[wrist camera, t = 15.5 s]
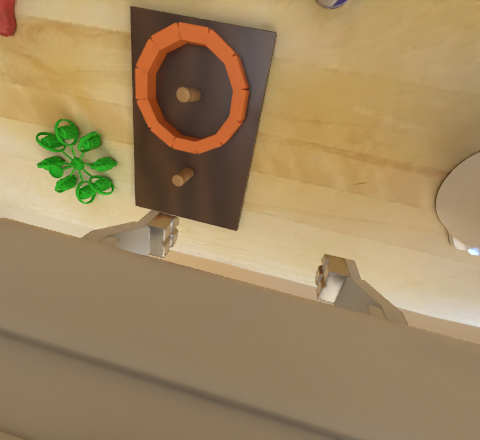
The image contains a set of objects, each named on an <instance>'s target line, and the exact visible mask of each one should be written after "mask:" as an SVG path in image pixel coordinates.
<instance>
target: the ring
mask: <svg viewBox="0 0 480 440" xmlns="http://www.w3.org/2000/svg"><path fill="white" fill-rule="evenodd" d="M151 38H152V39H150V38H149V39H148V41H147V43H146V45H145V47H144V49H143V52H142V54H141V56H140V58H139V60H138V62H137V64H136V66H137V67H138V68H135V87H136V99H140V100H138V101H137V104H138V106H139V108H140V110H141V112H142V114H143V117H144V119H145V121H146V123H147V125H148V127H149V128H151V127H152V128H151V129H150V130H151V131H152V132H153V133H154V134H156V135H157V136H158V137H159V138H160V139H161V140H163V141H164V142H165V143H166V144H167V145H168V146H169V147H173V149H177V150H181V151H186V152H190V153H194V154H197V153H199V154H200V153H203V152H206V151H209V150H212V149H214V148H217V147H220V146H222V145H224V144H225V143H226V142H228V140H229V139H230V138H231V137H232V135H233V134H234V133H235V132H236V130H237V129H238V128H239V127H240V125H241V124H242V123H243V121H242V120H244V118H245V113H246V107H247V101H248V95H249V90H246V89H248V88H249V86H248V82H247V79H246V76H245V72H244V69H243V66H242V62H241V59H240V57H238V54H237V53H236V52H235V51H234V50H233V49H232V48H231V47H230V46H229V45H228V44H227V43H226V42H225V41H224V40H223V39H222V38H221V37H220V36H219V35H218V34H217V33H216V32H215V31H213V30H212V29H210V28H208V27H204V26H199V25H193V24H188V23H182V22H179V24H178V23H174V24H172V25H170V26H168V27H167V28H165V29H163V30H161V31H159V32H157V33H156V34H154V35H152V36H151ZM187 43H190V44H195V45H200V46H205V47H208V48H209V49H210V50H211V51H212V52H213V53H214V54H215V55H216V56H217V57H218V58H219V59H220V60H221V61H222V62H223V63H224V64H225V67H226V70H227V73H228V76H229V80H230V83H231V86H232V89H233V94H232V101H231V108H230V115H229V117H228V119H227V120H226V121H225V123H224V124H223V125H222V127H221V128H220V129H219V131H218V132H217V133H216V134H214V135H211V136H208V137H205V138H203V139H198V138H194V137H189V136H185V135H181V134H180V133H179V132H178V131H177V130H176V129H175V128H173V127H172V126H171V125H170V124H169V123H168V122H167V121H166V120H165V119H164V116H163V114H162V112H161V109H160V107H159V105H158V103H157V100H156V73H157V71H158V69H159V68H160V66H161V64H162V62H163V60H164V58H165V57H166V55H167V53H169V52H171V51H173V50H175V49H177V48H179V47H181V46H183V45H185V44H187Z"/></svg>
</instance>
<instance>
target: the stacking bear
mask: <svg viewBox="0 0 480 440" xmlns="http://www.w3.org/2000/svg"><path fill="white" fill-rule="evenodd" d="M14 3H15V0H0V35H2V36H6V37H7V36H9V35H10V36H12V35H13V34H14V31H15V29H16V21H15V17H14Z"/></svg>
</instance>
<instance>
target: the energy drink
mask: <svg viewBox="0 0 480 440" xmlns="http://www.w3.org/2000/svg"><path fill="white" fill-rule="evenodd" d="M347 1H348V0H316V2H317V3H318V4H319V5H320V6H322V7H324V8H327V9H334V8H338V7H340V6H342V5H343V4H345V3H346V2H347Z"/></svg>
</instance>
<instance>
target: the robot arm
mask: <svg viewBox="0 0 480 440" xmlns="http://www.w3.org/2000/svg"><path fill="white" fill-rule="evenodd" d="M436 212H437V215H438V218H439V220H440V221H441V223H442V224H443V225H444V226H445V228H446V229H447V230H448V232H449V241H450V244H451V245H452V246H453V247H454V248H456V249H458V250H466V251H468V252H470V253H471V254H475V255H478V256H479V257H480V152H478V153H476V154H474V155H473V156H471V157H469V158H468V159H466V160H465V161H463V162H462V163H460V164H459V165H458V166H457V167H456V168H455V169H454V170H453V171H452V172H451V173H450V174H449V175H448V176H447V177H446V179H445V180H444V182H443V183H442V185H441V187H440V189H439V192H438V194H437V198H436ZM178 224H179V218H178V217H176V216H172V215H169V214H165V213H161V212H158V211H152V210H151V211H150V212H149V213H148V214H146V215H145V216H144V217H143V218H142V219H140V220H139V221H138V222H130V223H126V224H121V225H117V226H112V227H107V228H103V229H98V230H93V231H91V232H89V233H88V234H86V235H85V236H84V237H82V238H78V237H74V236H70V235H66V234H63V233H59V232H56V231H52V230H48V229H44V228H41V227H37V226H33V225H29V224H26V223H22V222H19V221H15V220H12V219H8V218H0V440H480V345H479V344H475V343H471V342H468V341H463V340H460V339H456V338H453V337H449V336H445V335H441V334H438V333H434V332H430V331H426V330H423V329H419V328H415V327H411V326H408V323H407V321H406V320H405V317H404V315H403V314H402V312H401V311H399V310H398V309H397V308H396V307H395V306H394V305H392V304H391V303H390V302H389V301H388V300H387V299H385V298H384V297H383V296H382V295H381V294H380V293H378V292H377V291H376V290H375V289H374V288H373V287H371V286H370V285H369V284H368V283H367V282H366V281H364V280H361V277H360V275H359V272H358V269H357V267H356V264H355V261H353V260H349V259H345V258H340V257H336V256H331V255H327V254H324V256H323V257H322V260H321V262H322V265H321V266H319V267H318V270H317V272H316V277H315V282H316V285H317V286H318V287H317V298H318V299H320V300H323V301H327V302H330V303H333V304H334V305H335V306H333V305H329V304H325V303H322V302H318V301H313V300H310V299H307V298H303V297H299V296H295V295H292V294H288V293H284V292H280V291H277V290H273V289H269V288H265V287H261V286H257V285H254V284H250V283H247V282H243V281H239V280H235V279H231V278H228V277H224V276H220V275H217V274H213V273H209V272H205V271H202V270H198V269H194V268H190V267H186V266H183V265H179V264H175V263H172V262H168V261H164V260H160V259H157V258H153V257H149V256H148V255H153V256H158V257H162V258H164V257H165V256H166V255H167V253H168V252H169V248H170V247H173V246H174V244H175V242H176V240H177V236H178V230H177V228H176V227H177V226H178Z"/></svg>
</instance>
